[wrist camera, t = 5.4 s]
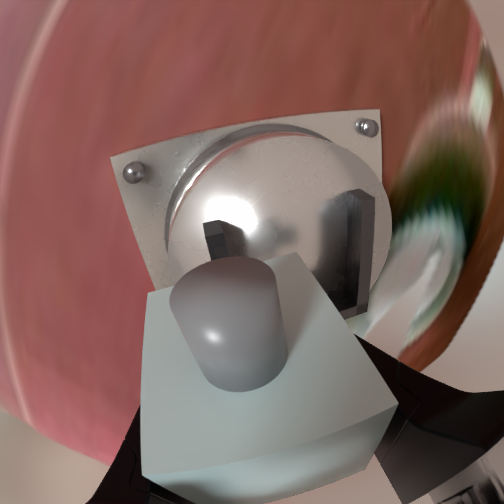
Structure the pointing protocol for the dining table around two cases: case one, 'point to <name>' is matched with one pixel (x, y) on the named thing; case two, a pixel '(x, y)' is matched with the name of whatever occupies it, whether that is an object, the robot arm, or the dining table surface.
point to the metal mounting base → (265, 199)
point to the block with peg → (254, 385)
